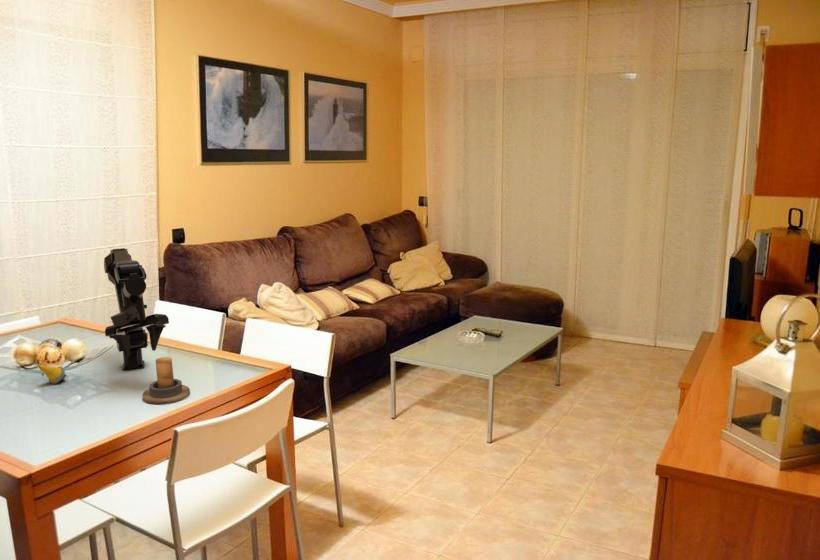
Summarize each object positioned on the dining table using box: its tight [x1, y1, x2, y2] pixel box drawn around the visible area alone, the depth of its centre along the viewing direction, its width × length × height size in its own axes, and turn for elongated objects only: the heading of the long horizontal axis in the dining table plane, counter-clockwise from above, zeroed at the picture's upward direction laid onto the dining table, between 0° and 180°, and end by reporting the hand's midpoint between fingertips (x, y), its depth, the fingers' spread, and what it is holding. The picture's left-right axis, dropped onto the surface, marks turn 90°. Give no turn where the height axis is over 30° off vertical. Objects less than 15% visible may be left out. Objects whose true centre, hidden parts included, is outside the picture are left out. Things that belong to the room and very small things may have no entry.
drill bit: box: [37, 364, 68, 385], centre depth 206 cm, size 5×5×10 cm
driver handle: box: [155, 356, 175, 389], centre depth 196 cm, size 4×4×10 cm
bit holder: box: [141, 378, 191, 405], centre depth 197 cm, size 13×13×4 cm
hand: (140, 353), depth 202 cm, fingers open, 9 cm apart
